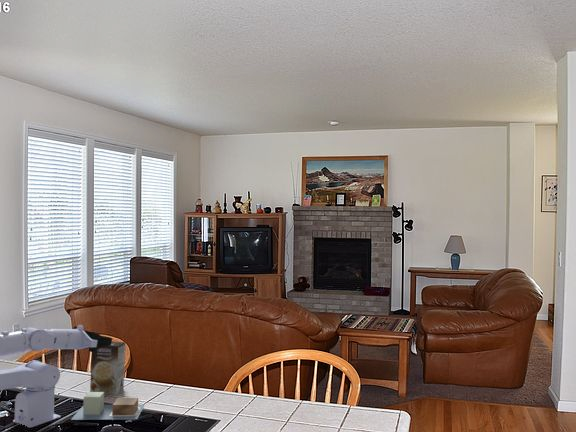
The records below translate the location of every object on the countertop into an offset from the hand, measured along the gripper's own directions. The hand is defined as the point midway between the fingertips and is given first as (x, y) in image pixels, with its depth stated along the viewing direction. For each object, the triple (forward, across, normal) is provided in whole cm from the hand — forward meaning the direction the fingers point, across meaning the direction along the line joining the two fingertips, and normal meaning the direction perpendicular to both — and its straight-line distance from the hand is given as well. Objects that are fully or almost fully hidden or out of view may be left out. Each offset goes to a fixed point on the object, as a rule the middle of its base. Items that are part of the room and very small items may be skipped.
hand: (103, 338), depth 162 cm
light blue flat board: (-2, -12, +19) cm, 22 cm away
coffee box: (+9, +4, +18) cm, 21 cm away
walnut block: (+1, -15, +18) cm, 23 cm away
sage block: (-5, -8, +19) cm, 21 cm away
